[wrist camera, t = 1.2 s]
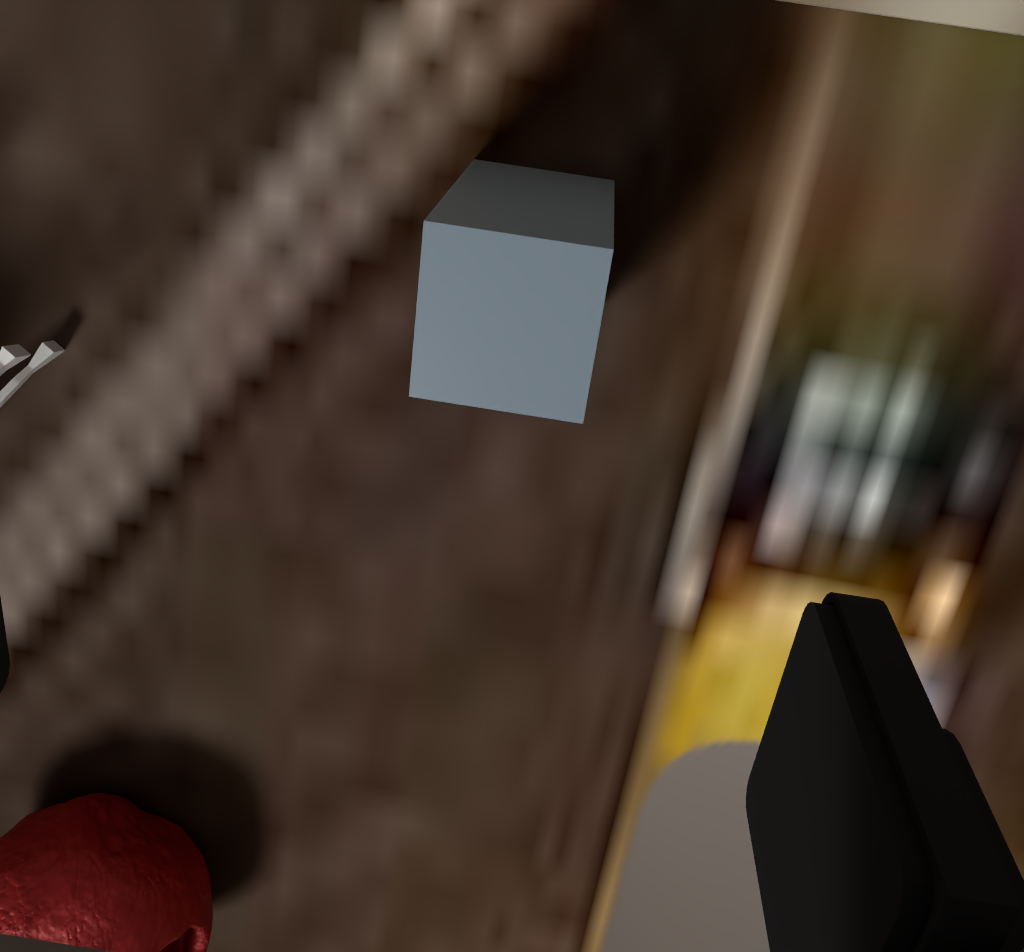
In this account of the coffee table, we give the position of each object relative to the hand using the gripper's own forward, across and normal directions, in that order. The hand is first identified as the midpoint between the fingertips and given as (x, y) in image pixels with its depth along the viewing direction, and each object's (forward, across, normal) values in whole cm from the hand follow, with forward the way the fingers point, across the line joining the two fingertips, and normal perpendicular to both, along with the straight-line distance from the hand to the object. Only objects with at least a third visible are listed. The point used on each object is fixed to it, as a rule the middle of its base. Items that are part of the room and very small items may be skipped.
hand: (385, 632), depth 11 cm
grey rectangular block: (+19, 0, 0) cm, 19 cm away
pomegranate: (+20, +14, +29) cm, 38 cm away
